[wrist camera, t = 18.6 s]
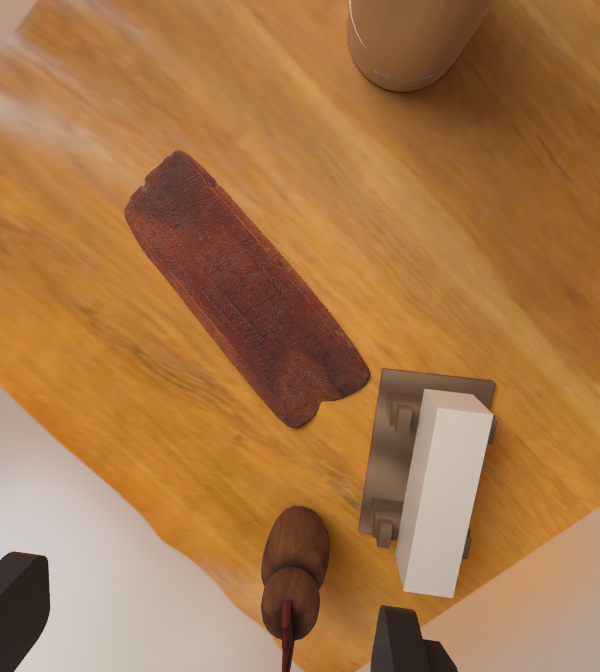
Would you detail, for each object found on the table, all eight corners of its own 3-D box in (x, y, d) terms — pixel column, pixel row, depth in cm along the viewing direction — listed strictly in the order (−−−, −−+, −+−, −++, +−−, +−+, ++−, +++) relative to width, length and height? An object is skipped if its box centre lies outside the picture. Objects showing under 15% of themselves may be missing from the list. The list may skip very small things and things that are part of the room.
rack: (382, 368, 37) (390, 385, 32) (492, 380, 36) (516, 399, 32) (358, 528, 40) (362, 564, 36) (458, 541, 40) (475, 580, 35)
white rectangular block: (424, 388, 33) (437, 408, 29) (473, 394, 33) (493, 414, 29) (394, 552, 37) (403, 591, 32) (438, 559, 36) (452, 598, 32)
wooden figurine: (314, 560, 42) (306, 728, 27) (262, 541, 42) (226, 699, 27) (337, 506, 40) (341, 653, 25) (283, 487, 40) (256, 623, 25)
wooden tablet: (376, 372, 38) (378, 377, 36) (293, 431, 39) (292, 438, 38) (192, 135, 34) (186, 130, 33) (111, 211, 36) (101, 209, 34)
